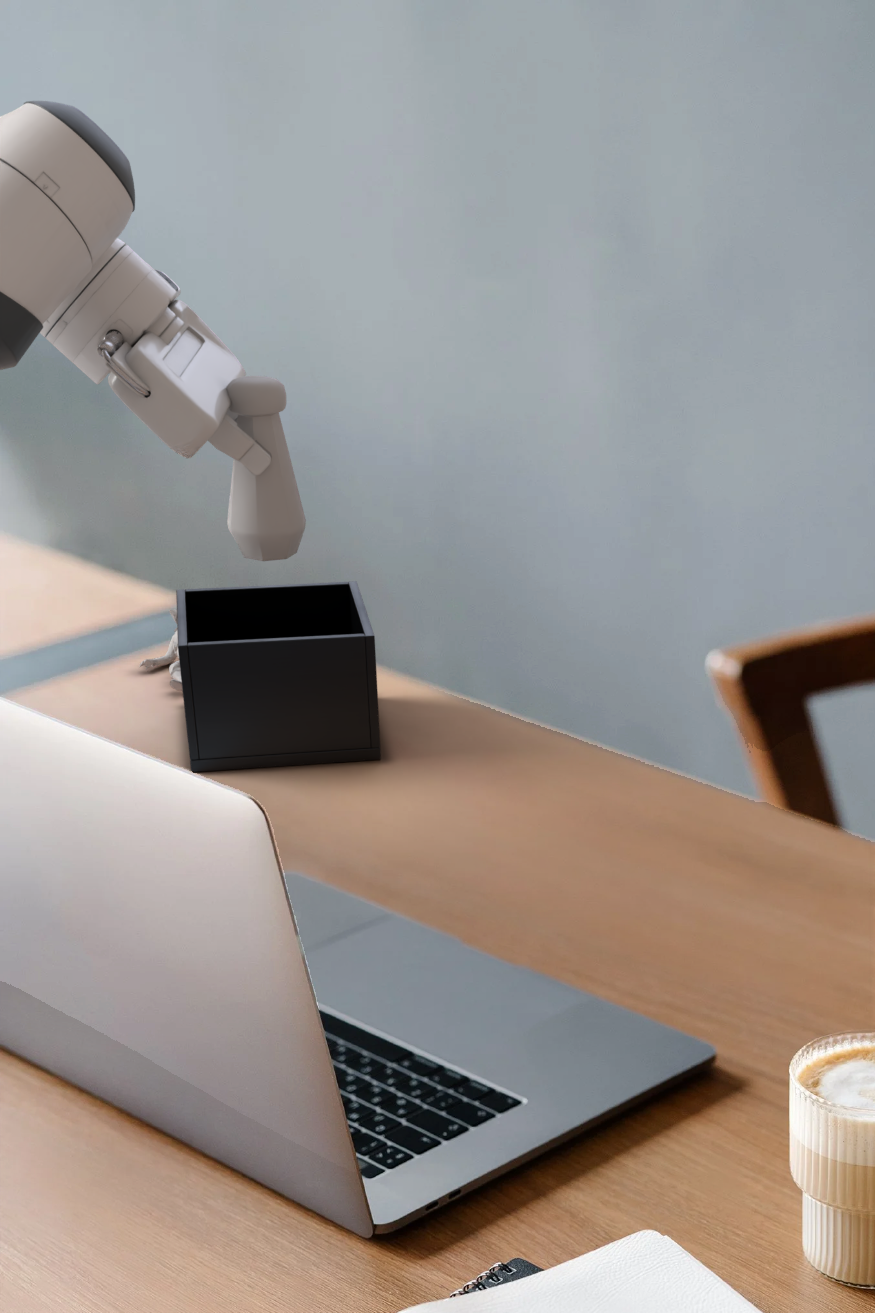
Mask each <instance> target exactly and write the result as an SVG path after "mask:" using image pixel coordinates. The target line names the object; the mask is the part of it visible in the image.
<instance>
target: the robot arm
mask: <svg viewBox="0 0 875 1313" xmlns="http://www.w3.org/2000/svg"><path fill="white" fill-rule="evenodd" d="M135 210H136V190H135V182H134V176H133V171H132V166H131V162H130V160H129V158H128V157H127V155H126V154H125V153H124V151H123V150H122V149H121V148H120V147H119V146H118V144H117V143H116V142H115V141H114V140H113V139H112V138H111V137H110V136H109V135H108V134H107V132H105V131H104V129H102V128H101V127H100V126H99V125H98V124H97V123H95V121H94V120H92V119H91V118H90V117H89V116H87V114H85V113H84V112H83V111H82V110H80V109H79V108H77V107H75V106H73V105H70V104H65V103H62V102H56V101H48V100H29V101H25V102H23V104H22V105H21V106H18V107H17V108H16V109H14V110H11V111H9V112H7V113H5V114H2V115H0V371H2V370H7V369H12V368H15V367H16V366H18V364H19V362H20V361H21V359H23V357H24V355H25V354H26V353H27V351H28V350H29V348H30V347H31V345H32V344H33V343H34V341H35V340H36V339H37V337H38V336H39V335H41V336H42V337H43V338H45V340H46V341H48V342H49V343H50V344H51V345H52V346H53V347H54V348H55V349H57V351H59V353H61V354H62V355H63V356H64V357H65V358H66V359H68V361H69V362H71V363H72V364H73V365H74V366H75V367H77V368H78V369H79V370H80V371H81V372H82V373H83V374H84V375H85V376H87V377H88V379H90V380H91V381H92V382H93V383H94V384H96V385H100V384H101V383H102V382H103V381H104V379H106V377H107V376H108V377H107V382H108V385H109V387H110V389H111V390H112V392H113V393H114V394H115V395H116V397H118V399H119V400H120V401H121V402H122V403H123V404H124V405H125V406H126V407H127V409H129V410H130V412H132V413H133V415H135V416H136V417H137V418H138V419H139V420H140V421H141V422H142V423H143V424H144V425H145V426H146V427H147V428H148V429H149V430H150V431H151V432H152V433H153V434H154V435H155V436H156V437H157V438H159V440H160V441H162V443H164V445H165V446H167V447H168V448H169V449H170V450H171V451H173V452H174V453H176V454H178V455H179V456H181V457H183V458H185V459H191V458H194V456H195V455H196V454H197V453H198V452H199V451H200V449H202V447H203V446H204V445H205V444H207V442H209V443H210V445H212V446H213V447H214V448H215V449H217V450H218V451H220V452H221V453H223V454H224V455H226V456H229V457H230V458H232V459H233V460H234V459H235V460H237V461H239V462H240V463H241V464H242V465H243V466H245V467H246V468H247V469H248V470H249V471H250V472H251V473H252V474H254V475H260V474H261V473H262V472H263V471H264V470H265V469H266V468H267V467H268V466H269V465H270V463H271V460H272V455H271V453H270V452H269V451H268V450H267V449H266V448H265V447H263V446H262V445H261V444H260V443H259V442H258V441H257V440H253V439H252V438H251V437H250V436H249V435H247V434H246V433H245V432H244V431H243V430H241V429H240V428H239V427H238V426H237V420H238V415H237V414H235V413H233V412H231V411H230V410H229V407H230V405H231V399H230V397H229V395H228V392H227V389H226V387H227V385H228V384H229V383H230V382H231V381H232V380H233V379H236V378H240V377H243V376H247V372H246V370H245V368H244V366H243V365H242V363H241V362H240V361H239V359H238V358H237V356H236V355H235V353H234V352H233V351H232V350H231V349H230V348H229V347H228V346H227V345H226V344H225V343H224V341H222V339H221V338H220V337H219V336H218V335H217V334H216V333H215V332H214V331H213V330H212V328H210V326H209V325H208V324H207V323H206V322H205V321H204V320H203V318H201V316H199V315H198V314H197V313H196V312H195V310H194V309H192V308H191V307H190V306H189V304H187V303H186V302H184V301H183V300H181V299H178V297H180V295H181V293H182V291H181V288H180V286H179V285H178V284H177V283H176V282H175V281H174V280H173V279H172V278H171V277H169V275H167V274H166V273H165V272H163V271H162V270H159V269H156V268H153V267H152V265H150V264H149V263H148V262H147V261H145V260H144V259H143V258H142V257H141V256H140V255H138V253H137V252H136V251H134V250H133V248H132V247H130V245H128V244H127V243H126V242H124V241H123V240H122V239H120V238H119V237H120V236H121V234H122V233H123V232H124V230H125V229H126V227H127V225H128V224H129V222H130V220H131V219H130V218H131V217H132V214H133V212H135Z"/></svg>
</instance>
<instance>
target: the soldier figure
mask: <svg viewBox="0 0 875 1313" xmlns="http://www.w3.org/2000/svg"><path fill="white" fill-rule="evenodd" d="M168 612H169V615H170V616H171V618H172V620H173V621H174V622H175V624H176V625H177V608H174V609H169V610H168ZM173 632H174V634H173V635H172V636H171V640H170V642H169V645H168V648H167V651H166V653H165V655H162V656H160V657H155V658H146V659H144V660H142V661H141V662H140V664H139V667H138V668H141V667H144V668H145V671H148V669H149V668H150V667H152V668H158V667H160V666H167V665H169V667H168V672H169V675H170V678H171V680H170V681H169V686H170V687H171V688H172V689H173V690H175V691H179V692H183V690H182V681H181V671H180V662H179V660H176V659H179V653H178V634H177V627H175V629H174V630H173ZM175 660H176V661H175Z"/></svg>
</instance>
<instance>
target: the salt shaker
mask: <svg viewBox="0 0 875 1313" xmlns="http://www.w3.org/2000/svg"><path fill="white" fill-rule="evenodd" d="M226 389H227V392H228V395H229V397H230V399H231V405H230V407H229V410H230V411H231V412H233V413H235V414H237V415H238V420H237V426H238V427H239V428H240V429H241V430H243V431H244V432H245V433H246V434H247V435H249V436H250V437H251V438H252V439H253V440H257V441H258V442H259V443H260V444H261V445H262V446H263V447H265V448H266V449H267V450H268V451H269V452H270V453H271V455H272V460H271V463H270V465H269V466H268V467H267V468H266V469H265V470H264V471H263V472H262V473H261V474H260V475H254V474H252V473H251V472H250V471H249V470H248V469H247V468H246V467H245V466H243V465H242V464H241V463H240V462H239V461H237V460H235V459H233V461H232V470H231V480H230V490H229V500H228V511H227V519H226V520H227V521H226V523H227V527H228V531H229V532H230V534H231V536H232V537H233V539H234V541H235V543H236V545H237V547H238V549H239V550H240V553H241V555H242V556H243V558H244V559H248V560H254V561H259V562H271V561H281V560H287V559H289V558H291V557H293V556H294V555H295V554H298V551H299V547H300V545H301V542H302V539H303V535H304V532H305V530H306V524H307V518H306V515H305V511H304V507H303V504H302V499H301V495H300V492H299V491H300V490H299V488H298V483H297V479H296V475H295V472H294V471H295V470H294V467H293V464H292V460H291V455H290V452H289V448H288V443H287V440H286V435H285V432H284V428H283V424H282V421H281V416H280V413H281V412H283V411H284V410H285V409H286V407H287V392H286V388H285V385H284V384H283V383H282V382H281V381H280V380H279V379H277V378H275V377H272V376H267V375H246V376H243V377H240V378H236V379H233V380H232V381H231V382H230V383H229V384H228V385H227V387H226Z"/></svg>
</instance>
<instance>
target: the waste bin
mask: <svg viewBox="0 0 875 1313" xmlns="http://www.w3.org/2000/svg"><path fill="white" fill-rule="evenodd" d="M175 595H176V596H175V597H176V598H175V599H176V609H177V624H176V628H177V634H178V653H179V658H178V661H179V662H180V671H181V681H182V690H183V691H182V699H183V708H184V718H185V726H186V735H187V736H186V737H187V746H188V755H189V764H190V772H191V771H194V772H193V773H203V772H216V771H229V770H231V771H232V770H244V769H259V768H271V767H273V768H276V767H288V766H305V765H319V764H334V763H347V762H348V763H349V762H351V763H352V762H365V761H378V760H379V761H380V760H382V753H381V752H382V748H381V732H380V730H381V729H380V714H379V695H378V693H379V692H378V675H377V656H376V636H375V632H374V630H373V627H372V624H371V621H370V618H369V614H368V611H367V609H366V606H365V603H364V600H363V597H362V594H361V591H360V588H359V584H358V581H356V580H353V581H333V582H332V581H331V582H312V583H311V582H310V583H309V582H308V583H288V584H268V585H267V584H265V585H264V584H263V585H243V586H221V587H203V588H202V587H201V588H199V587H198V588H186V589H185V588H182V589H179V588H178V589H175Z"/></svg>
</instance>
